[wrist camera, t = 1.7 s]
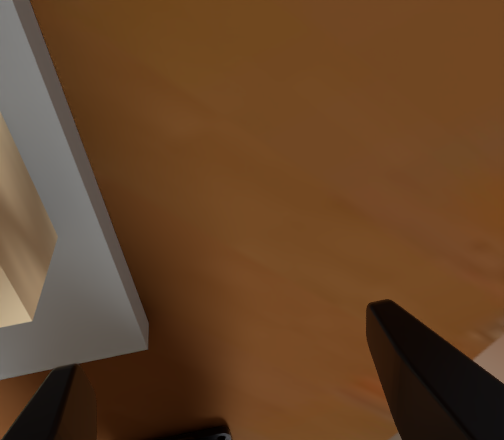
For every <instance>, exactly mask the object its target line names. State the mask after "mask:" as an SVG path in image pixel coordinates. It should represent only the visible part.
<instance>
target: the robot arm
mask: <svg viewBox="0 0 504 440" xmlns="http://www.w3.org/2000/svg"><path fill="white" fill-rule="evenodd" d="M366 337H367V342H368V346H369V349H370V352H371V355H372V358H373V361H374V364H375V367H376V370H377V373H378V376H379V379H380V382H381V384H382V387H383V390H384V393H385V396H386V399H387V402H388V405H389V408H390V411H391V414H392V417H393V419H394V422H395V425H396V427H397V429H398V432H399V434H400V436H401V438H402V440H504V384H503V383H502V382H501V381H499V380H498V379H497V378H495V377H494V376H493V375H491V374H490V373H489V372H487V371H486V370H485V369H483V368H482V367H481V366H479V365H478V364H477V363H475V362H474V361H473V360H471V359H470V358H469V357H467V356H466V355H465V354H463V353H462V352H460V351H459V350H458V349H456V348H455V347H454V346H452V345H451V344H450V343H448V342H447V341H446V340H444V339H443V338H442V337H440V336H439V335H438V334H436V333H435V332H434V331H432V330H431V329H430V328H428V327H427V326H426V325H424V324H423V323H422V322H420V321H419V320H418V319H416V318H415V317H414V316H412V315H411V314H410V313H408V312H407V311H406V310H404V309H403V308H402V307H400V306H399V305H398V304H396V303H395V302H393V301H392V300H389V299H385V300H380V301H375V302H371V303H369V304H368V305H367V309H366ZM96 417H97V405H96V395H95V392H94V389H93V387H92V385H91V384H90V382H89V380H88V378H87V376H86V374H85V372H84V370H83V368H82V367H81V366H80V365H79V364H77V363H73V364H68V365H63V366H59V367H56V368H54V369H53V370H52V371H51V372H50V373H49V375H48V376H47V378H46V379H45V380H44V382H43V383H42V384H41V386H40V387H39V389H38V390H37V391H36V393H35V394H34V395H33V397H32V398H31V400H30V401H29V402H28V404H27V405H26V406H25V408H24V409H23V411H22V412H21V413H20V415H19V416H18V417H17V419H16V420H15V422H14V423H13V424H12V426H11V427H10V428H9V430H8V431H7V433H6V434H5V435H4V437H3V438H2V439H1V440H96ZM160 440H232V436H231V433H230V430H229V428H227V427H216V428H212V429H207V430H202V431H198V432H193V433H188V434H184V435H179V436H174V437H170V438H165V439H160Z"/></svg>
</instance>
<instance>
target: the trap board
mask: <svg viewBox="0 0 504 440" xmlns="http://www.w3.org/2000/svg"><path fill="white" fill-rule="evenodd" d="M0 112H1V114H2V116H3V118H4V121H5V123H6V125H7V127H8V129H9V131H10V134H11V136H12V138H13V140H14V142H15V144H16V147H17V149H18V151H19V153H20V155H21V158H22V160H23V162H24V164H25V166H26V168H27V171H28V173H29V175H30V177H31V179H32V181H33V184H34V186H35V188H36V190H37V192H38V194H39V197H40V199H41V201H42V203H43V205H44V208H45V210H46V212H47V214H48V216H49V218H50V221H51V223H52V225H53V227H54V229H55V231H56V234H57V236H58V238H57V242H56V245H55V248H54V251H53V255H52V258H51V261H50V265H49V268H48V271H47V275H46V278H45V281H44V284H43V288H42V291H41V294H40V298H39V301H38V304H37V308H36V311H35V314H34V317H33V321H31V322H26V323H21V324H16V325H11V326H6V327H1V328H0V380H2V379H6V378H11V377H16V376H21V375H26V374H31V373H36V372H40V371H45V370H50V369H54V368H56V367H59V366H63V365H68V364H73V363H77V364H79V363H84V362H89V361H94V360H99V359H104V358H109V357H114V356H118V355H123V354H128V353H133V352H138V351H143V350H148V335H149V323H148V320H147V317H146V314H145V312H144V309H143V306H142V304H141V301H140V298H139V295H138V293H137V290H136V287H135V285H134V282H133V279H132V277H131V274H130V271H129V268H128V266H127V263H126V260H125V258H124V255H123V252H122V249H121V247H120V244H119V241H118V239H117V236H116V233H115V231H114V228H113V225H112V222H111V220H110V217H109V214H108V212H107V209H106V206H105V203H104V201H103V198H102V195H101V193H100V190H99V187H98V185H97V182H96V179H95V176H94V174H93V171H92V168H91V166H90V163H89V160H88V158H87V155H86V152H85V149H84V147H83V144H82V141H81V139H80V136H79V133H78V130H77V128H76V125H75V122H74V120H73V117H72V114H71V112H70V109H69V106H68V103H67V101H66V98H65V95H64V93H63V90H62V87H61V84H60V82H59V79H58V76H57V74H56V71H55V68H54V66H53V63H52V60H51V57H50V55H49V52H48V49H47V47H46V44H45V41H44V38H43V36H42V33H41V30H40V28H39V25H38V22H37V20H36V17H35V14H34V11H33V9H32V6H31V3H30V1H29V0H0Z"/></svg>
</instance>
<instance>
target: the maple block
mask: <svg viewBox="0 0 504 440" xmlns="http://www.w3.org/2000/svg"><path fill="white" fill-rule="evenodd" d="M57 238H58V236H57V234H56V231H55V229H54V227H53V225H52V223H51V221H50V218H49V216H48V214H47V212H46V210H45V208H44V205H43V203H42V201H41V199H40V197H39V194H38V192H37V190H36V188H35V186H34V184H33V181H32V179H31V177H30V175H29V173H28V171H27V168H26V166H25V164H24V162H23V160H22V158H21V155H20V153H19V151H18V149H17V147H16V144H15V142H14V140H13V138H12V136H11V134H10V131H9V129H8V127H7V125H6V123H5V121H4V118H3V116H2V114H1V112H0V328H1V327H6V326H11V325H16V324H21V323H26V322H31V321H33V317H34V314H35V311H36V308H37V304H38V301H39V298H40V294H41V291H42V288H43V284H44V281H45V278H46V275H47V271H48V268H49V265H50V261H51V258H52V255H53V251H54V248H55V245H56V242H57Z"/></svg>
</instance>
